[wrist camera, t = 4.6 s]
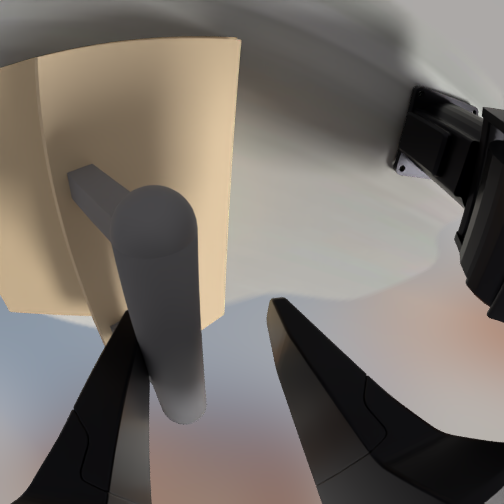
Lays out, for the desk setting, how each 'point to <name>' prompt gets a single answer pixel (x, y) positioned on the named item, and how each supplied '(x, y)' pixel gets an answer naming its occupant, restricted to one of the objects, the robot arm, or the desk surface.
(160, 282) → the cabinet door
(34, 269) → the kraft carton
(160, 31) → the desk surface
